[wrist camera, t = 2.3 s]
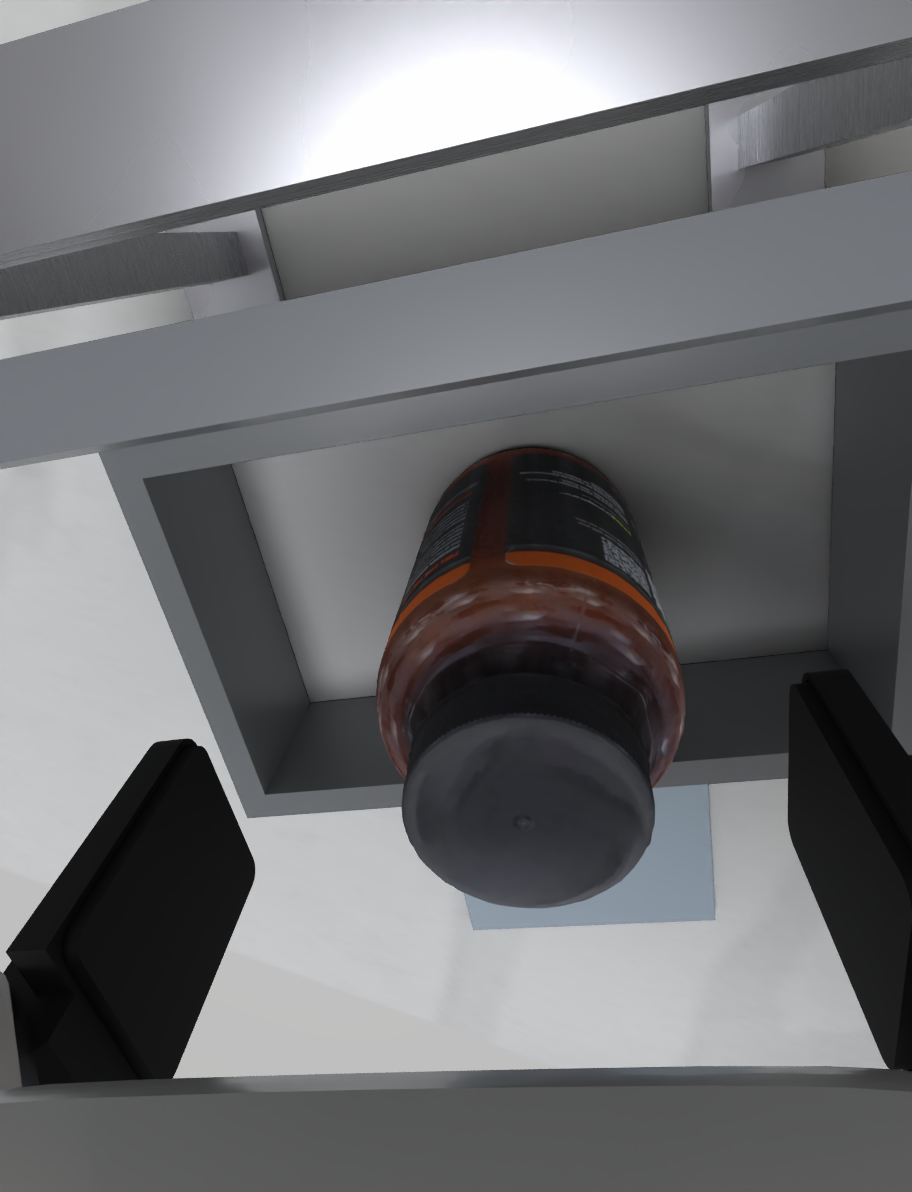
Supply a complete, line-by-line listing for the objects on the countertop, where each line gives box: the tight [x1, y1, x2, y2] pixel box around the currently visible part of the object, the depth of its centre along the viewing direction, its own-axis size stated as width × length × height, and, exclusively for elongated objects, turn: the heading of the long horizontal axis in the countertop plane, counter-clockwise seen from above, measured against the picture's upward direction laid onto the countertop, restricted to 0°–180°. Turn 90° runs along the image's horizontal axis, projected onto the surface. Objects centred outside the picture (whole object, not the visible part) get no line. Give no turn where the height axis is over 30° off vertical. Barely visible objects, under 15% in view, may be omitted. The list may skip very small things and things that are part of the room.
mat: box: [464, 784, 715, 930], centre depth 26 cm, size 9×9×1 cm
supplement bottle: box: [376, 448, 686, 909], centre depth 16 cm, size 6×6×11 cm
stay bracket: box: [0, 0, 912, 320], centre depth 10 cm, size 3×15×16 cm, turn 101°
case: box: [99, 309, 912, 818], centre depth 19 cm, size 11×18×4 cm, turn 101°
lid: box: [0, 171, 912, 469], centre depth 9 cm, size 11×18×1 cm
